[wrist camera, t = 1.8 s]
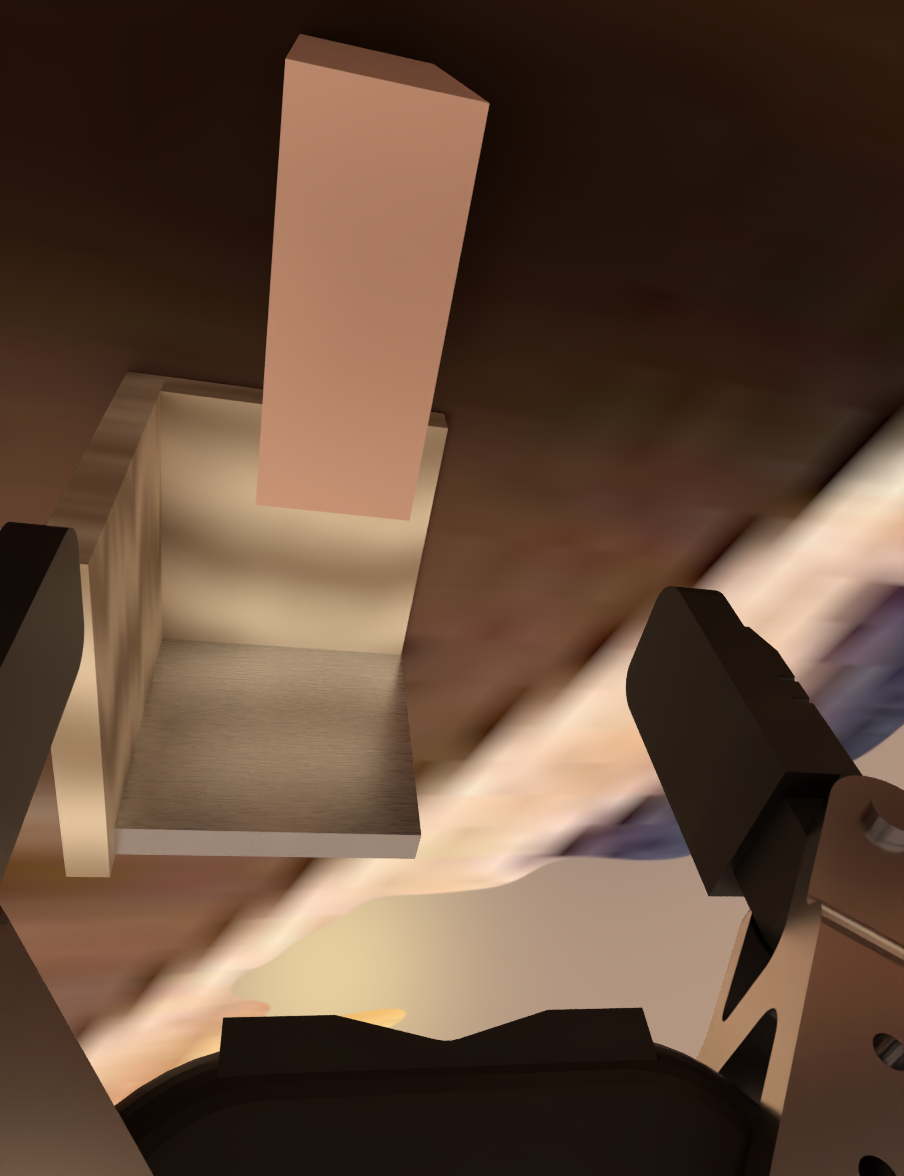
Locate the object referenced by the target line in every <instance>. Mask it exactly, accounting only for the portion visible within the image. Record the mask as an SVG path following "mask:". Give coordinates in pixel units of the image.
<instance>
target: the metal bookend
mask: <svg viewBox="0 0 904 1176" xmlns="http://www.w3.org/2000/svg"><path fill="white" fill-rule="evenodd" d="M114 835H115V851H116V854H145V855H209V856H273V857H338V858H402V859H415V856H416V853H417V849H418V845H419V841H420V838H421V830H420V821H419V812H418V803H417V794H416V785H415V776H414V767H413V758H412V749H411V740H410V731H409V722H408V712H407V703H406V694H405V685H404V676H403V667H402V658H401V655H396V654H382V653H367V652H353V651H338V650H324V649H309V648H295V647H280V646H266V645H251V644H237V643H222V642H208V641H193V640H179V639H164V638H162V642H161V646H160V650H159V654H158V658H157V662H156V666H155V670H154V673H153V677H152V681H151V685H150V689H149V693H148V697H147V701H146V705H145V709H144V713H143V717H142V721H141V725H140V729H139V733H138V736H137V740H136V744H135V748H134V752H133V756H132V760H131V764H130V768H129V772H128V776H127V780H126V784H125V788H124V792H123V796H122V799H121V803H120V807H119V811H118V815H117V819H116V823H115V827H114Z"/></svg>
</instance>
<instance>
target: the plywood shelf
mask: <svg viewBox="0 0 904 1176" xmlns="http://www.w3.org/2000/svg"><path fill="white" fill-rule="evenodd" d="M262 404H263V389H256V388H249V387H241V386H234V385H226V384H219V383H211V382H204V381H196V380H189V379H181V378H174V377H166V376H159V375H151V374H144V373H136V372H129V371H127V372H126V374H125V376H124V378H123V380H122V382H121V384H120V386H119V388H118V390H117V392H116V393H115V395H114V397H113V399H112V401H111V403H110V405H109V407H108V409H107V411H106V413H105V414H104V416H103V418H102V420H101V422H100V424H99V426H98V428H97V430H96V432H95V434H94V435H93V437H92V439H91V441H90V443H89V445H88V447H87V449H86V451H85V453H84V454H83V456H82V458H81V460H80V462H79V464H78V466H77V468H76V470H75V472H74V474H73V475H72V477H71V479H70V481H69V483H68V485H67V487H66V489H65V491H64V493H63V495H62V496H61V498H60V500H59V502H58V504H57V506H56V508H55V510H54V512H53V514H52V516H51V517H50V519H49V521H48V523H47V526H58V527H68V528H73V529H74V530H75V532H76V535H77V539H78V546H79V560H80V573H81V586H82V600H83V613H84V645H83V653H82V659H81V664H80V668H79V671H78V674H77V677H76V680H75V682H74V685H73V688H72V691H71V693H70V696H69V699H68V701H67V704H66V707H65V710H64V712H63V715H62V718H61V720H60V723H59V726H58V729H57V731H56V734H55V737H54V740H53V742H52V745H51V753H52V761H53V770H54V778H55V786H56V795H57V803H58V811H59V820H60V828H61V837H62V845H63V853H64V862H65V870H66V877H110V875H111V871H112V867H113V863H114V859H115V855H116V851H115V835H114V827H115V823H116V819H117V815H118V811H119V807H120V803H121V799H122V796H123V792H124V788H125V784H126V780H127V776H128V772H129V768H130V764H131V760H132V756H133V752H134V748H135V744H136V740H137V736H138V733H139V729H140V725H141V721H142V717H143V713H144V709H145V705H146V701H147V697H148V693H149V689H150V685H151V681H152V677H153V673H154V670H155V666H156V662H157V658H158V654H159V650H160V646H161V642H162V638H164V639H179V640H193V641H208V642H222V643H237V644H251V645H266V646H280V647H295V648H309V649H324V650H338V651H353V652H367V653H382V654H396V655H401V653H402V648H403V643H404V638H405V634H406V629H407V624H408V619H409V614H410V609H411V605H412V600H413V595H414V590H415V585H416V580H417V576H418V571H419V566H420V561H421V556H422V551H423V547H424V542H425V537H426V532H427V527H428V522H429V518H430V513H431V508H432V503H433V498H434V494H435V489H436V484H437V479H438V474H439V469H440V465H441V460H442V455H443V450H444V445H445V440H446V436H447V431H448V427H447V423H446V419H445V416H444V414H443V413H436V412H430V417H429V422H428V427H427V432H426V437H425V443H424V448H423V453H422V458H421V464H420V469H419V474H418V479H417V484H416V490H415V495H414V500H413V505H412V511H411V516H410V521H406V520H397V519H387V518H378V517H368V516H358V515H349V514H339V513H329V512H320V511H310V510H301V509H291V508H281V507H272V506H262V505H256V494H257V479H258V464H259V449H260V434H261V419H262Z"/></svg>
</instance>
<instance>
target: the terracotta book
mask: <svg viewBox="0 0 904 1176" xmlns="http://www.w3.org/2000/svg"><path fill="white" fill-rule="evenodd" d="M488 109H489V102H487V101H486V100H484V99H483V98H481V97H480V96H478V95H477V94H476V93H474V92H473V91H471V90H470V89H468V88H467V87H466V86H464V85H463V84H461V83H460V82H458V81H457V80H456V79H454V78H453V77H451V76H450V75H448V74H447V73H446V72H444V71H443V70H441V69H440V68H438V67H437V66H436V65H434V64H431V63H427V62H422V61H418V60H413V59H409V58H404V57H400V56H396V55H391V54H387V53H382V52H378V51H373V50H369V49H365V48H360V47H356V46H351V45H347V44H342V43H338V42H334V41H329V40H325V39H320V38H316V37H311V36H307V35H303V34H300V35H299V37H298V38H297V40H296V42H295V43H294V45H293V47H292V48H291V50H290V52H289V54H288V55H287V57H286V59H285V74H284V89H283V104H282V119H281V134H280V149H279V164H278V179H277V194H276V209H275V224H274V239H273V254H272V269H271V284H270V299H269V314H268V329H267V344H266V359H265V374H264V389H263V404H262V419H261V434H260V449H259V464H258V479H257V494H256V505H262V506H272V507H281V508H291V509H301V510H310V511H320V512H329V513H339V514H349V515H358V516H368V517H378V518H387V519H397V520H406V521H410V516H411V511H412V505H413V500H414V495H415V490H416V484H417V479H418V474H419V469H420V464H421V458H422V453H423V448H424V443H425V437H426V432H427V427H428V422H429V417H430V411H431V406H432V401H433V396H434V390H435V385H436V380H437V375H438V370H439V364H440V359H441V354H442V349H443V343H444V338H445V333H446V328H447V323H448V317H449V312H450V307H451V302H452V296H453V291H454V286H455V281H456V276H457V270H458V265H459V260H460V255H461V249H462V244H463V239H464V234H465V229H466V223H467V218H468V213H469V208H470V202H471V197H472V192H473V187H474V182H475V176H476V171H477V166H478V161H479V156H480V150H481V145H482V140H483V135H484V129H485V124H486V119H487V114H488Z"/></svg>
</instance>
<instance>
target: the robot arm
mask: <svg viewBox="0 0 904 1176" xmlns="http://www.w3.org/2000/svg"><path fill="white" fill-rule="evenodd" d="M83 645H84V613H83V600H82V586H81V573H80V560H79V546H78V539H77V535H76V532H75V530H74V529H73V528H68V527H58V526H47V525H37V524H26V523H16V522H8V523H6V524H5V525H4V526H3V528H2V529H1V531H0V884H1V881H2V878H3V875H4V873H5V870H6V867H7V865H8V862H9V859H10V856H11V854H12V851H13V848H14V846H15V843H16V840H17V837H18V835H19V832H20V829H21V827H22V824H23V821H24V818H25V816H26V813H27V810H28V807H29V805H30V802H31V799H32V797H33V794H34V791H35V788H36V786H37V783H38V780H39V778H40V775H41V772H42V769H43V767H44V764H45V761H46V759H47V756H48V753H49V750H50V748H51V745H52V742H53V740H54V737H55V734H56V731H57V729H58V726H59V723H60V720H61V718H62V715H63V712H64V710H65V707H66V704H67V701H68V699H69V696H70V693H71V691H72V688H73V685H74V682H75V680H76V677H77V674H78V671H79V668H80V664H81V659H82V653H83ZM794 678H795V676H794V675H793V673H792V672H791V670H790V669H789V667H788V666H787V664H786V663H785V661H784V660H783V659H782V657H781V656H780V654H779V653H778V651H777V650H776V649H774V648H773V647H772V646H771V645H770V644H769V643H767V642H766V641H765V640H764V639H763V638H761V637H760V636H759V635H758V634H757V633H756V632H754V631H753V630H752V629H751V628H750V627H744V625H743V624H742V622H741V621H740V619H739V618H738V616H737V615H736V613H735V612H734V610H733V608H732V607H731V605H730V604H729V602H728V601H727V599H726V598H725V596H724V595H723V594H722V593H721V592H719V591H716V590H705V589H695V588H684V587H674V586H669V587H666V588H665V589H663V591H662V592H661V593H660V594H659V596H658V598H657V600H656V602H655V605H654V607H653V610H652V612H651V614H650V617H649V619H648V622H647V624H646V626H645V629H644V631H643V634H642V636H641V638H640V641H639V643H638V646H637V648H636V650H635V653H634V655H633V658H632V660H631V663H630V665H629V668H628V672H627V678H626V696H627V702H628V706H629V709H630V711H631V714H632V716H633V718H634V721H635V723H636V725H637V728H638V730H639V733H640V735H641V737H642V740H643V742H644V744H645V747H646V749H647V751H648V754H649V756H650V759H651V761H652V763H653V766H654V768H655V770H656V773H657V775H658V777H659V780H660V782H661V785H662V787H663V789H664V792H665V794H666V796H667V799H668V801H669V804H670V806H671V808H672V811H673V813H674V815H675V818H676V820H677V822H678V825H679V827H680V830H681V832H682V834H683V837H684V839H685V841H686V844H687V846H688V849H689V851H690V853H691V856H692V858H693V860H694V863H695V865H696V867H697V870H698V872H699V875H700V877H701V879H702V882H703V884H704V886H705V889H706V891H707V893H708V896H744V897H745V899H746V901H747V903H748V906H749V907H750V910H749V911H748V913H747V914H746V915H745V917H744V918H743V920H742V922H741V924H740V926H739V929H738V933H737V936H736V939H735V943H734V946H733V949H732V953H731V956H730V959H729V962H728V966H727V969H726V972H725V975H724V979H723V982H722V985H721V989H720V992H719V995H718V999H717V1002H716V1005H715V1009H714V1012H713V1015H712V1018H711V1021H710V1025H709V1028H708V1031H707V1034H706V1037H705V1040H704V1042H703V1045H702V1047H701V1050H700V1052H699V1054H698V1056H697V1058H696V1059H693V1058H692V1057H690V1056H688V1055H686V1054H684V1053H681V1052H679V1051H676V1050H674V1049H671V1048H669V1047H666V1046H664V1045H661V1044H657V1043H654V1042H653V1041H652V1038H651V1035H650V1031H649V1028H648V1025H647V1021H646V1018H645V1015H644V1012H643V1009H642V1008H610V1009H566V1010H546V1011H543V1012H540V1013H537V1014H534V1015H531V1016H528V1017H525V1018H521V1019H518V1020H516V1021H512V1022H509V1023H506V1024H503V1025H500V1026H497V1027H494V1028H491V1029H488V1030H485V1031H482V1032H479V1033H475V1034H472V1035H469V1036H467V1037H463V1038H460V1039H456V1040H452V1041H442V1040H436V1039H431V1038H427V1037H423V1036H419V1035H415V1034H411V1033H406V1032H403V1031H399V1030H394V1029H390V1028H386V1027H382V1026H378V1025H374V1024H370V1023H366V1022H362V1021H357V1020H353V1019H349V1018H345V1017H341V1016H337V1015H317V1016H276V1017H274V1016H273V1017H231V1018H223V1025H222V1035H221V1045H220V1051H219V1052H216V1053H213V1054H210V1055H207V1056H204V1057H200V1058H197V1059H194V1060H192V1061H190V1062H187V1063H185V1064H183V1065H181V1066H178V1067H176V1068H174V1069H172V1070H169V1071H167V1072H165V1073H164V1074H162V1075H160V1076H158V1077H157V1078H155V1079H153V1080H152V1081H150V1082H148V1083H146V1084H145V1085H143V1086H141V1087H140V1088H138V1089H137V1090H135V1091H134V1092H133V1093H131V1094H130V1095H129V1096H127V1097H126V1098H125V1099H123V1100H122V1101H121V1102H119V1103H118V1104H116V1105H115V1106H114V1105H113V1103H112V1101H111V1099H110V1097H109V1096H108V1094H107V1092H106V1090H105V1089H104V1087H103V1085H102V1083H101V1082H100V1080H99V1078H98V1076H97V1074H96V1073H95V1071H94V1069H93V1067H92V1066H91V1064H90V1062H89V1060H88V1058H87V1057H86V1055H85V1053H84V1051H83V1050H82V1048H81V1046H80V1044H79V1043H78V1041H77V1039H76V1037H75V1035H74V1034H73V1032H72V1030H71V1028H70V1027H69V1025H68V1023H67V1021H66V1020H65V1018H64V1016H63V1014H62V1012H61V1011H60V1009H59V1007H58V1005H57V1004H56V1002H55V1000H54V998H53V997H52V995H51V993H50V991H49V989H48V988H47V986H46V984H45V982H44V981H43V979H42V977H41V975H40V973H39V972H38V970H37V968H36V966H35V965H34V963H33V961H32V959H31V958H30V956H29V954H28V952H27V950H26V949H25V947H24V945H23V943H22V942H21V940H20V938H19V936H18V935H17V933H16V931H15V929H14V927H13V926H12V924H11V922H10V920H9V919H8V917H7V915H6V914H5V912H4V911H3V909H2V908H1V906H0V1176H904V790H902V789H900V788H899V787H897V786H895V785H892V784H890V783H888V782H886V781H883V780H880V779H877V778H873V777H868V776H863V775H862V774H861V773H860V771H859V770H858V768H857V767H856V765H855V764H854V762H853V761H852V759H851V758H850V756H849V755H848V754H847V752H846V751H845V749H844V748H843V746H842V745H841V743H840V742H839V740H838V739H837V737H836V736H835V735H834V733H833V732H832V730H831V729H830V727H829V726H828V724H827V723H826V721H825V720H824V718H823V717H822V716H821V714H820V713H819V711H818V710H817V708H816V707H815V705H814V704H813V703H809V697H808V695H807V694H806V692H805V691H804V689H803V688H802V686H801V685H800V683H799V682H795V681H794Z"/></svg>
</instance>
